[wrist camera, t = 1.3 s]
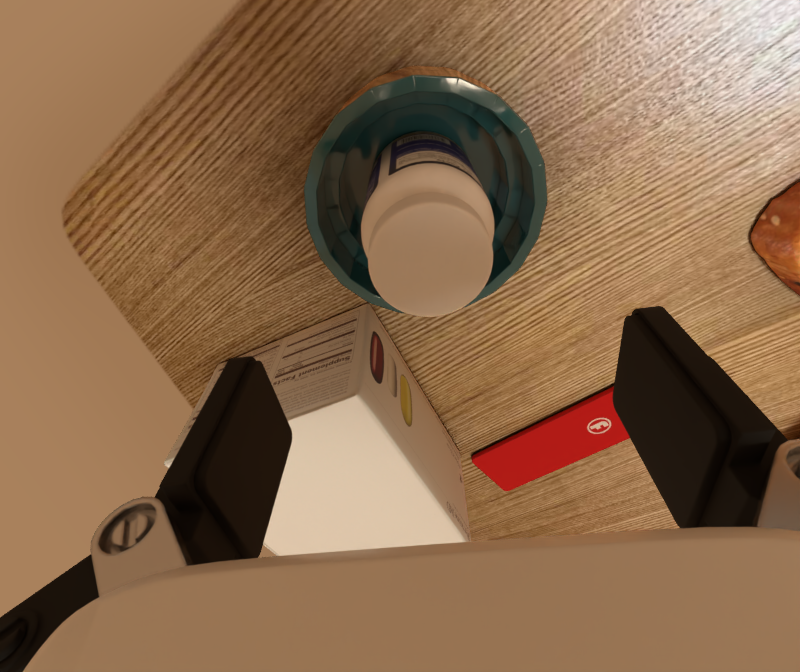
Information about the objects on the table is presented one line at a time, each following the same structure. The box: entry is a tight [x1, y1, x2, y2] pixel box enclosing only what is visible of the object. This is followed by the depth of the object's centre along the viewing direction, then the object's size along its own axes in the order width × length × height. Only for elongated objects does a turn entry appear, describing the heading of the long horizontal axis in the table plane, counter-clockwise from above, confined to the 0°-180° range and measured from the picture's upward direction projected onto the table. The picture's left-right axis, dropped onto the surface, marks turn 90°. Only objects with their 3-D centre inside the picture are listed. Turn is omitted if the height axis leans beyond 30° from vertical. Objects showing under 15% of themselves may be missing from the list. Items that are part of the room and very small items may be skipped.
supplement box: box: [164, 303, 471, 556], centre depth 31 cm, size 17×13×9 cm
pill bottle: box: [361, 131, 494, 317], centre depth 20 cm, size 6×6×10 cm
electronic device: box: [472, 386, 630, 491], centre depth 36 cm, size 6×1×15 cm
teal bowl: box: [304, 65, 547, 313], centre depth 22 cm, size 11×11×5 cm
